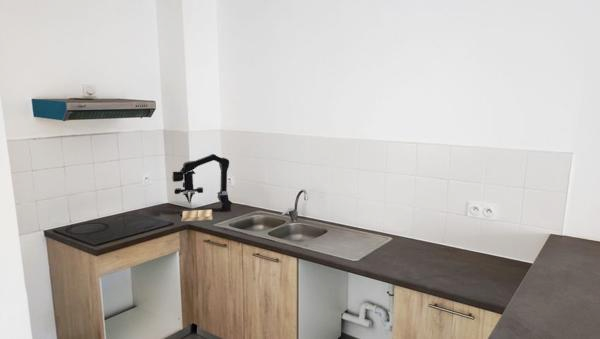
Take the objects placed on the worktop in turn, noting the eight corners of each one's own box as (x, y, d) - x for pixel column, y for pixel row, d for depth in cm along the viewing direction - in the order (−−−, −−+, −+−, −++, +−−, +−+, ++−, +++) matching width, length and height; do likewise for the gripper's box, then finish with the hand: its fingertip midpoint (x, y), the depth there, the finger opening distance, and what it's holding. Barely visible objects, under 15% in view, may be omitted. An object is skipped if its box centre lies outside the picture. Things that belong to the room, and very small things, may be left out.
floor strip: (212, 217, 284) (212, 216, 284) (212, 221, 276) (212, 219, 276) (182, 219, 280) (182, 217, 280) (181, 223, 272) (181, 221, 272)
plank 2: (211, 210, 290) (211, 209, 290) (212, 217, 285) (211, 216, 284) (197, 211, 288) (197, 210, 288) (197, 218, 283) (197, 216, 282)
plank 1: (197, 211, 288) (197, 210, 288) (197, 218, 283) (196, 216, 282) (182, 212, 286) (182, 211, 286) (182, 219, 281) (182, 217, 280)
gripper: (202, 177, 292) (203, 199, 295) (175, 178, 288) (176, 200, 291) (202, 180, 281) (203, 203, 284) (173, 182, 277) (175, 204, 280)
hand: (189, 202), depth 285 cm, fingers closed
